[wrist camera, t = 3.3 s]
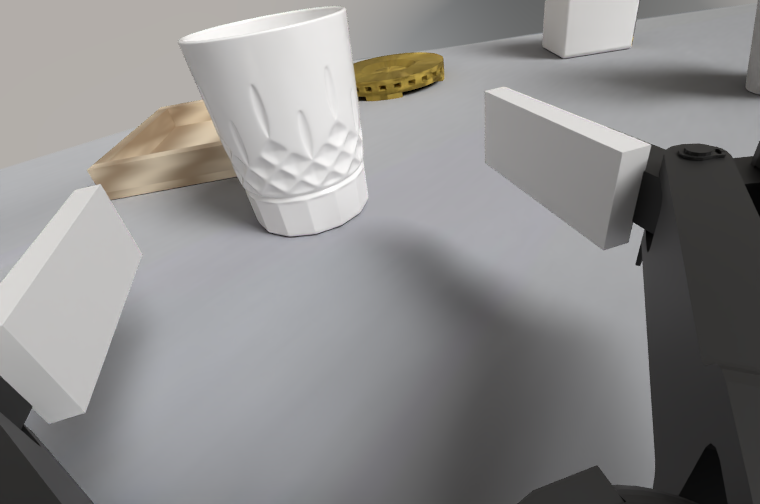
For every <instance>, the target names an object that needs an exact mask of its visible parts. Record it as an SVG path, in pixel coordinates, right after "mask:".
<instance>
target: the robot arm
mask: <svg viewBox="0 0 760 504" xmlns="http://www.w3.org/2000/svg"><path fill="white" fill-rule="evenodd" d="M485 163H486V164H487V165H489V166H490V167H491V168H493V169H494V170H495V171H497V172H498V173H499V174H501V175H502V176H503V177H505V178H506V179H508V180H509V181H510V182H512V183H513V184H514V185H516V186H517V187H518V188H520V189H521V190H522V191H524V192H525V193H526V194H528V195H529V196H531V197H532V198H533V199H535V200H536V201H537V202H539V203H540V204H541V205H543V206H544V207H545V208H547V209H548V210H549V211H551V212H552V213H554V214H555V215H556V216H558V217H559V218H560V219H562V220H563V221H564V222H566V223H567V224H568V225H570V226H571V227H572V228H574V229H575V230H577V231H578V232H579V233H581V234H582V235H583V236H585V237H586V238H587V239H589V240H590V241H591V242H593V243H594V244H595V245H597V246H598V247H600V248H601V249H602V250H606V249H609V248H612V247H616V246H619V245H622V244H625V243H628V242H629V238H630V233H631V229H632V225H633V222H634V223H635V224H637V225H639V226H640V227H642V228H644V229H645V230H644V234H643V237H642V241H641V245H640V249H639V253H638V257H637V261H636V265H637V266H640V265H641V263H642V261H643V277H644V292H645V308H646V324H647V339H648V355H649V371H650V386H651V402H652V417H653V433H654V449H655V478H654V484H653V489H651V488H645V487H639V486H628V485H611V483H610V482H609V481H608V479H607V478H606V476H605V475H604V474H603V472H602V471H601V470H600V468H599V467H598V466H594V467H592V468H589V469H587V470H584V471H581V472H579V473H576V474H574V475H571V476H569V477H566V478H564V479H561V480H559V481H556V482H554V483H551V484H549V485H546V486H544V487H541V488H538V489H536V490H533V491H532V492H531V493H530V494H528V495H527V496H526V497H525V498H524V499H522V500H521V501H520V502H519V503H518V504H760V141H759V144H758V146H757V149H756V151H755V154H754V156H751V157H741V158H732V156H731V155H730V154H729V153H728V152H727V151H725V150H723V149H721V148H718V147H714V146H709V145H705V144H681V145H676V146H672V147H670V148H668V149H666V150H665V149H662V148H660V147H657V146H655V145H652V144H650V143H647V142H645V141H642V140H640V139H637V138H633V137H632V136H629V135H627V134H623V133H622V132H619V131H617V130H614V129H612V128H609V127H605V126H603V125H600V124H598V123H595V122H593V121H590V120H588V119H585V118H583V117H580V116H578V115H575V114H573V113H570V112H568V111H565V110H562V109H560V108H557V107H555V106H552V105H550V104H547V103H545V102H542V101H540V100H537V99H535V98H532V97H530V96H527V95H525V94H522V93H519V92H517V91H514V90H512V89H509V88H507V87H500V88H496V89H492V90H488V91H485ZM142 255H143V254H142V253H141V251H140V249H139V248H138V246H137V244H136V243H135V241H134V239H133V238H132V236H131V234H130V233H129V231H128V229H127V227H126V226H125V224H124V222H123V221H122V219H121V217H120V216H119V214H118V212H117V211H116V209H115V207H114V206H113V204H112V202H111V201H110V199H109V197H108V195H107V194H106V192H105V190H104V189H103V187H102V185H101V184H98V185H94V186H90V187H86V188H82V189H77V190H75V191H74V192H73V193H72V194H71V196H70V197H69V198H68V199H67V201H66V202H65V203H64V204H63V206H62V207H61V208H60V209H59V211H58V212H57V213H56V214H55V216H54V217H53V218H52V219H51V221H50V222H49V223H48V224H47V226H46V227H45V228H44V229H43V231H42V232H41V233H40V234H39V236H38V237H37V238H36V239H35V241H34V242H33V243H32V244H31V246H30V247H29V248H28V249H27V251H26V252H25V253H24V254H23V256H22V257H21V258H20V259H19V261H18V262H17V263H16V264H15V266H14V267H13V268H12V269H11V271H10V272H9V273H8V274H7V276H6V277H5V278H4V279H3V281H2V282H1V283H0V504H94V503H93V502H92V501H91V500H90V499H89V497H88V496H87V495H86V494H85V493H84V492H83V490H82V489H81V488H80V487H79V486H78V484H77V483H76V482H75V481H74V480H73V479H72V477H71V476H70V475H69V474H68V473H67V472H66V470H65V469H64V468H63V467H62V466H61V464H60V463H59V462H58V461H57V460H56V459H55V457H54V456H53V455H52V454H51V453H50V452H49V450H48V449H47V448H46V447H45V446H44V444H43V443H42V442H41V441H40V440H39V439H38V437H37V436H36V435H35V434H34V433H33V432H32V431H31V430H30V429H28V428H27V427H26V426H25V425H24V423H25V421H26V419H27V417H28V415H29V413H30V411H31V408H32V409H33V410H34V411H35V412H36V413H37V414H38V415H40V416H41V417H42V418H43V419H44V420H45V421H46V422H47V423H48V424H51V423H54V422H58V421H61V420H64V419H67V418H70V417H74V416H77V415H80V414H83V413H86V410H87V407H88V405H89V402H90V399H91V396H92V393H93V391H94V388H95V385H96V382H97V380H98V377H99V374H100V371H101V368H102V366H103V363H104V360H105V357H106V355H107V352H108V349H109V346H110V344H111V341H112V338H113V335H114V332H115V330H116V327H117V324H118V321H119V319H120V316H121V313H122V310H123V307H124V305H125V302H126V299H127V296H128V294H129V291H130V288H131V285H132V283H133V280H134V277H135V274H136V271H137V269H138V266H139V263H140V260H141V258H142Z"/></svg>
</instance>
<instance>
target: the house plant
mask: <svg viewBox="0 0 760 504" xmlns="http://www.w3.org/2000/svg"><path fill="white" fill-rule="evenodd" d="M745 87H746V89H747V90H748V91H750V92H753V93H755V94H759V95H760V0H758V4H757V11H756V17H755V24H754V31H753V38H752V44H751V51H750V58H749V64H748V71H747V78H746V85H745Z"/></svg>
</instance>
